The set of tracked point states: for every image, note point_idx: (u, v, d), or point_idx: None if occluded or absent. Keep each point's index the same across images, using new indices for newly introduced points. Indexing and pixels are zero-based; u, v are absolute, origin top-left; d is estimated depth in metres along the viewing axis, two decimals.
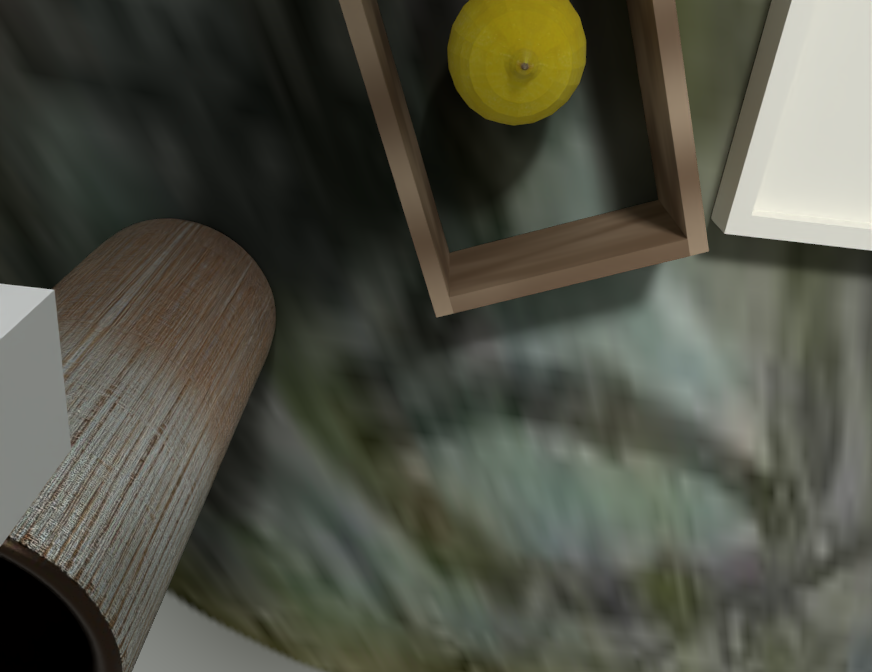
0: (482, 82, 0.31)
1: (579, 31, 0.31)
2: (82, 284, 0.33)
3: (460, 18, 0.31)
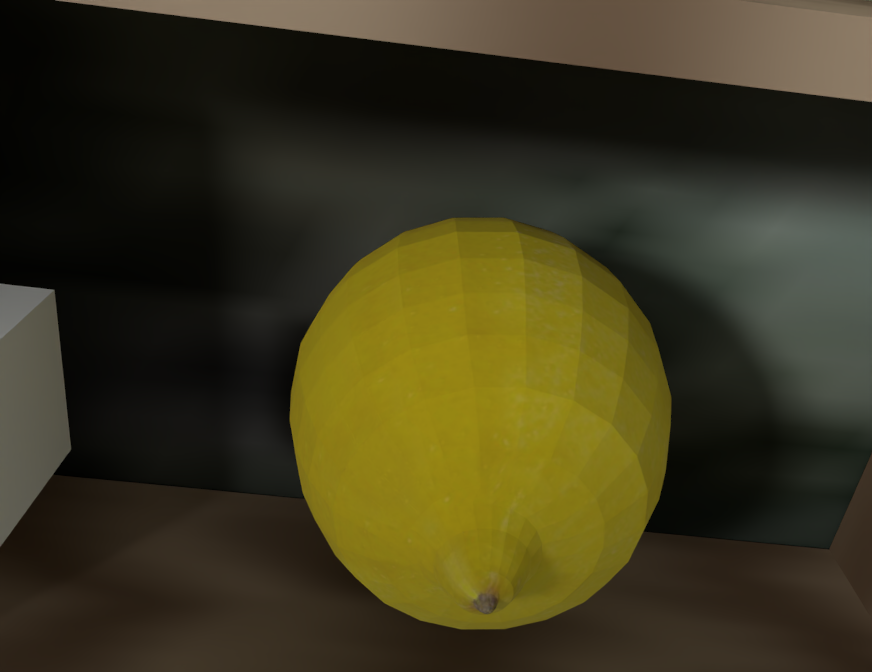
0: (489, 624, 0.10)
1: (480, 297, 0.10)
2: None
3: None
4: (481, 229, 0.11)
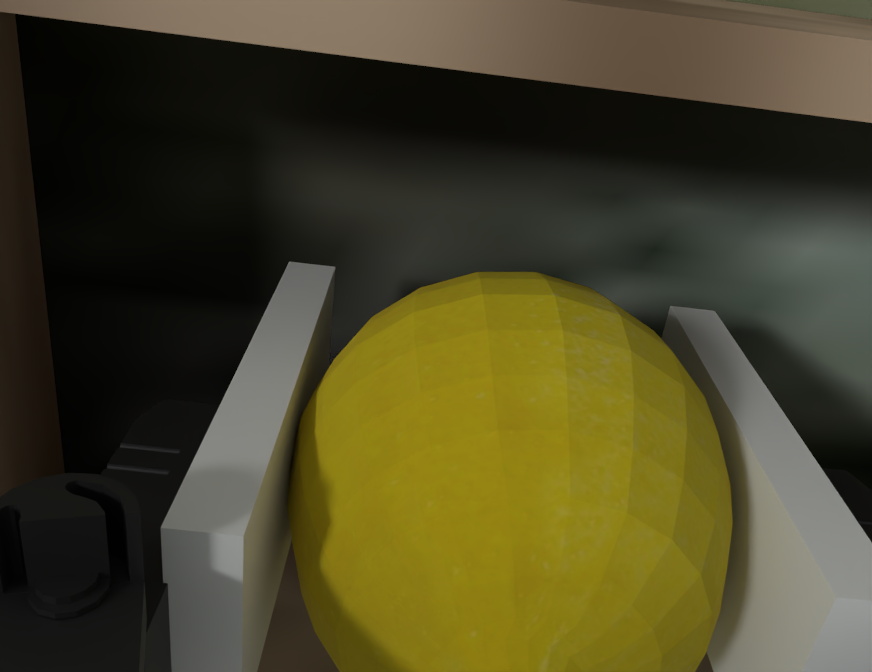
0: None
1: (513, 380, 0.08)
2: None
3: None
4: (511, 290, 0.10)
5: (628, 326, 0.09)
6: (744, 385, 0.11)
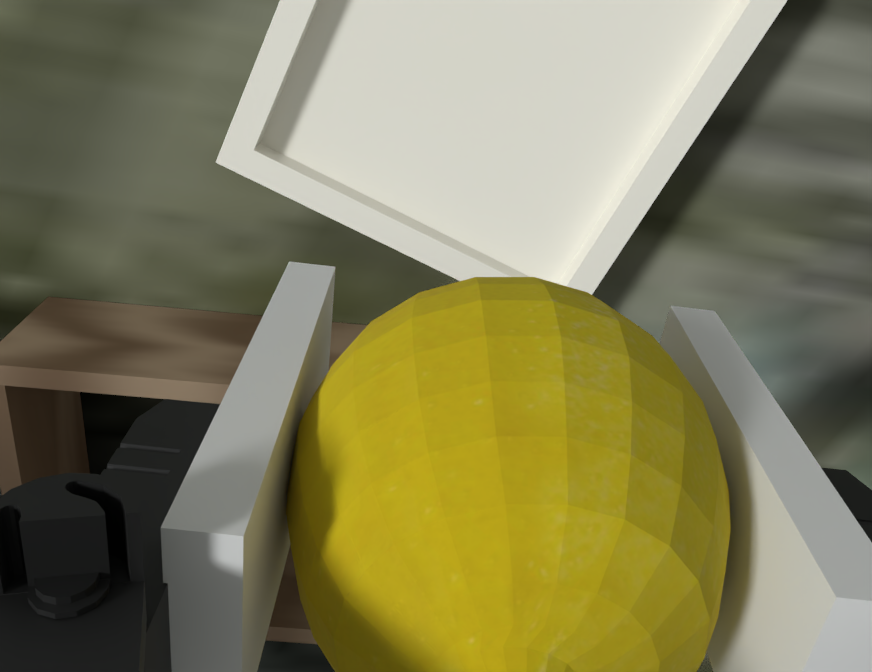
0: None
1: (511, 386, 0.08)
2: None
3: None
4: (509, 296, 0.10)
5: (626, 332, 0.09)
6: (744, 385, 0.11)
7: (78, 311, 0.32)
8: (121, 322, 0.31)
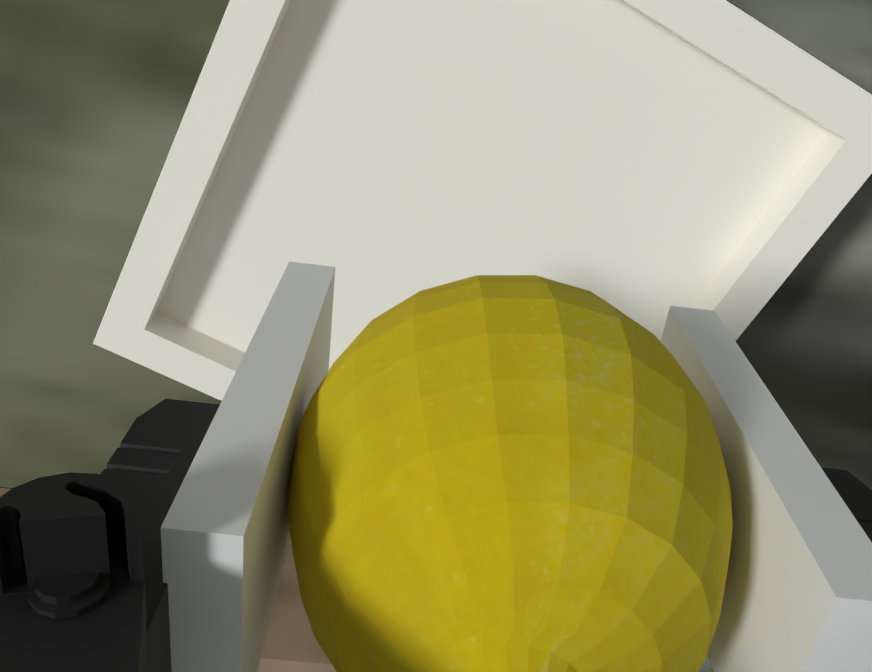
0: None
1: (513, 385, 0.08)
2: None
3: None
4: (511, 294, 0.10)
5: (628, 330, 0.09)
6: (744, 385, 0.11)
7: None
8: None
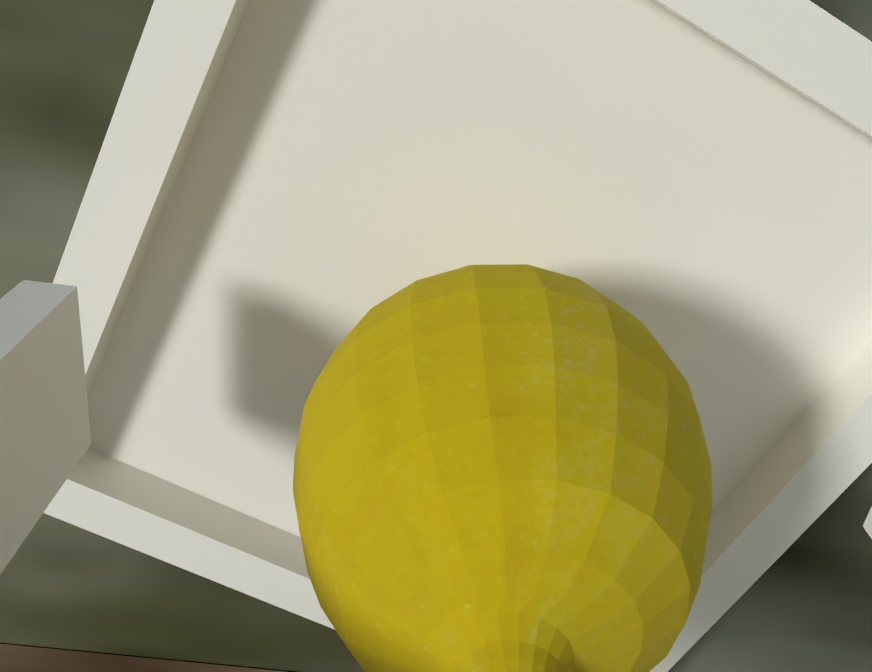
0: None
1: (504, 370, 0.09)
2: None
3: None
4: (503, 283, 0.10)
5: (614, 317, 0.10)
6: None
7: None
8: None
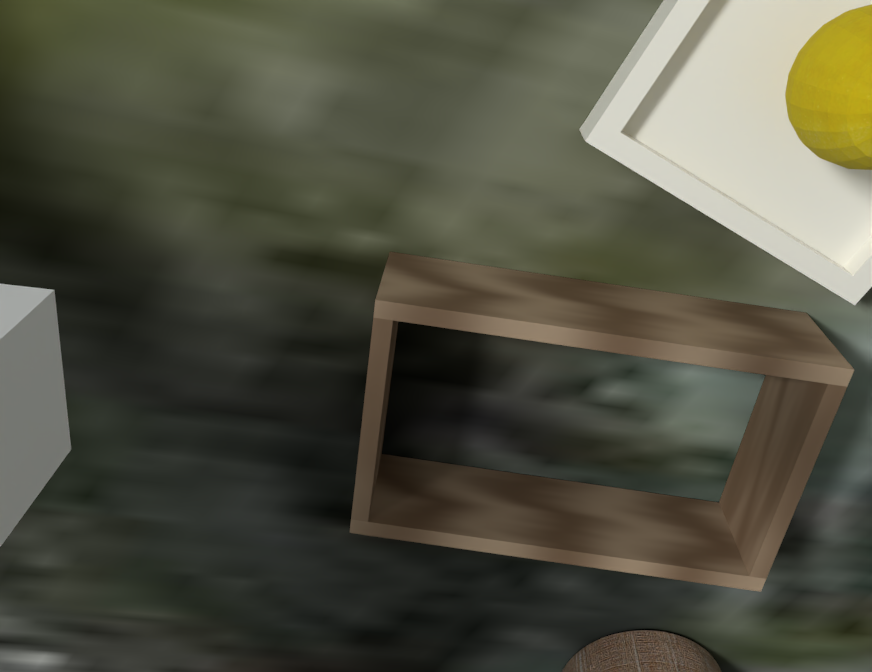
0: None
1: None
2: None
3: (808, 137, 0.29)
4: None
5: None
6: None
7: (422, 265, 0.37)
8: (462, 275, 0.36)
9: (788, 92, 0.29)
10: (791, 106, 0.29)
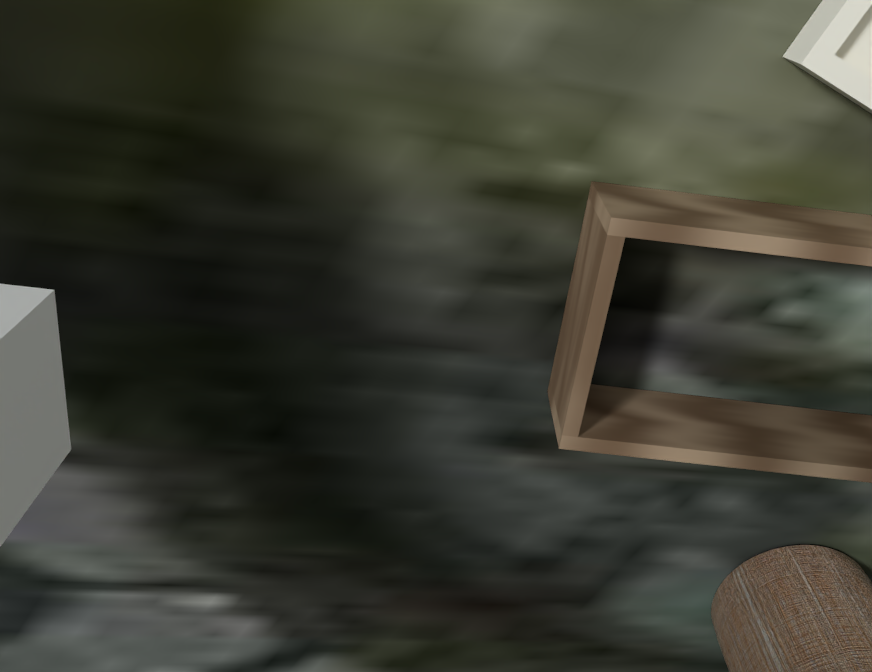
0: None
1: None
2: None
3: None
4: None
5: None
6: None
7: (628, 191, 0.39)
8: (668, 199, 0.38)
9: None
10: None
